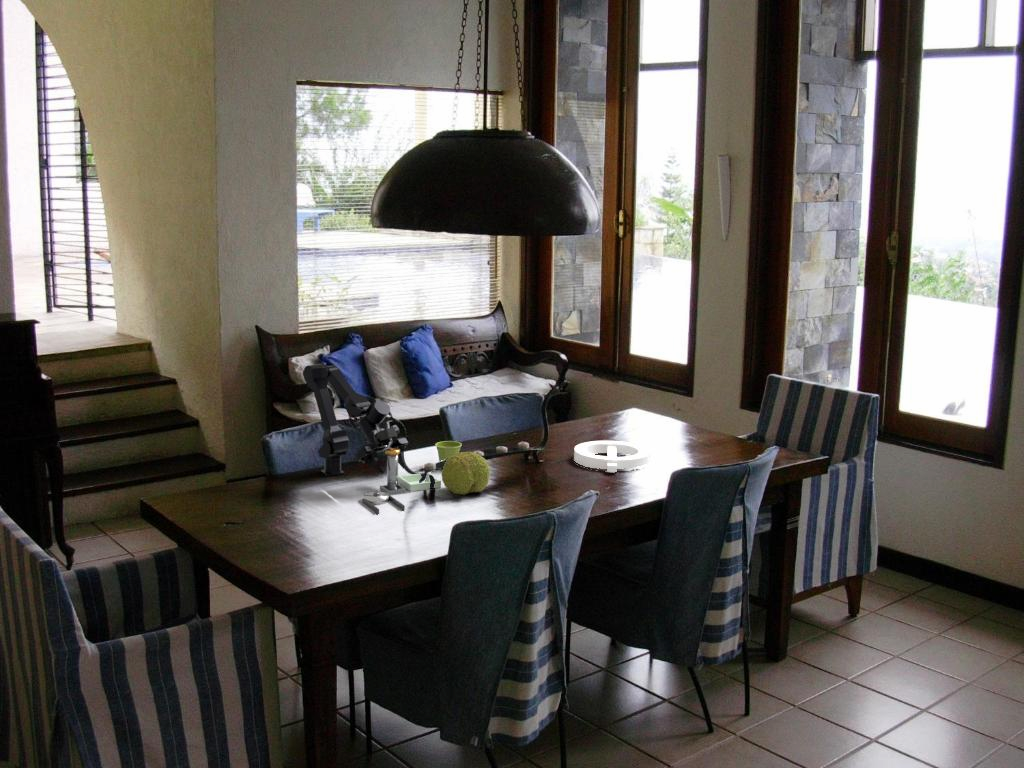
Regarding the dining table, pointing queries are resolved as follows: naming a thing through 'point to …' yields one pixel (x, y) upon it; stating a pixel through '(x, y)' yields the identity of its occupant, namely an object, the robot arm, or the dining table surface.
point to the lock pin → (392, 468)
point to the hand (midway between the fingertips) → (394, 470)
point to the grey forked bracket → (379, 500)
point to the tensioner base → (392, 492)
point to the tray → (417, 482)
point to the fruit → (465, 473)
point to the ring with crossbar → (611, 455)
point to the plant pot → (447, 449)
